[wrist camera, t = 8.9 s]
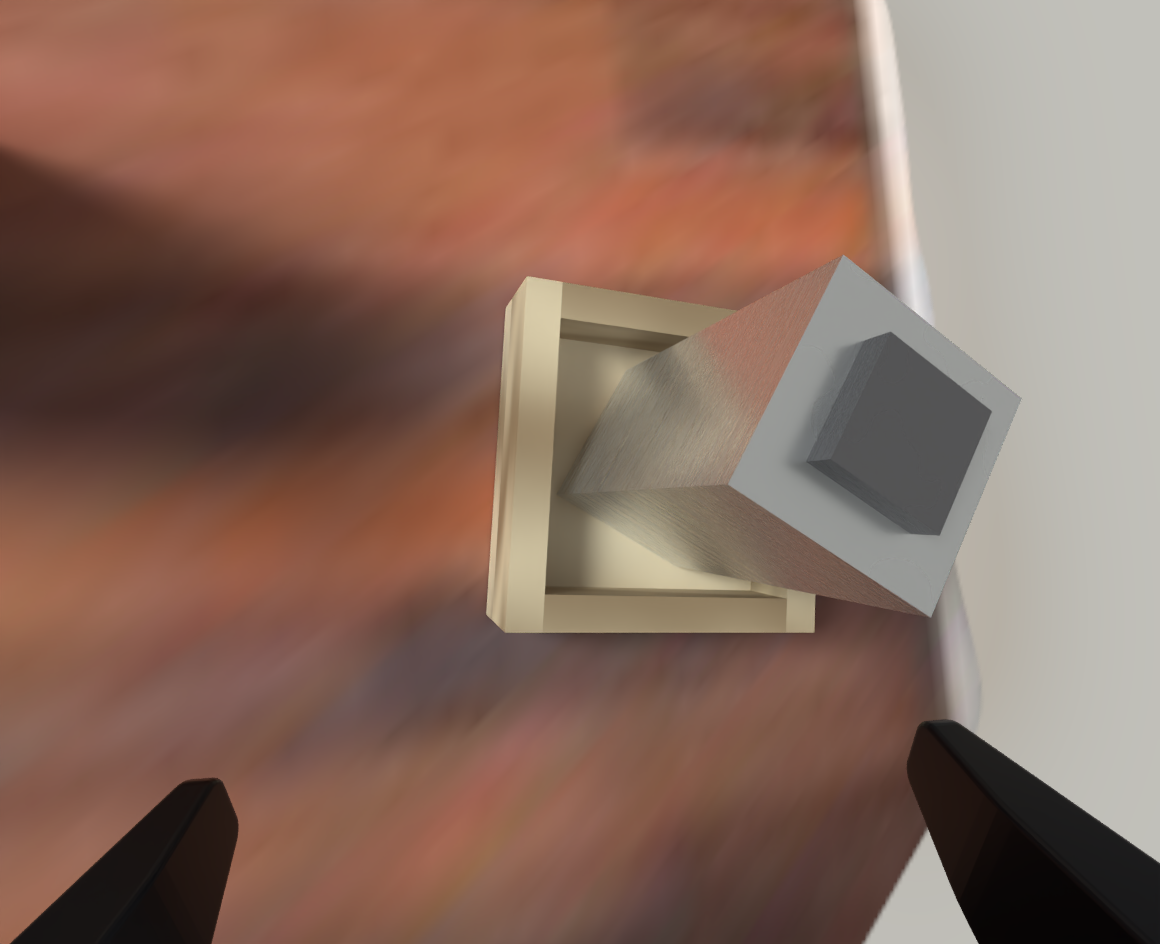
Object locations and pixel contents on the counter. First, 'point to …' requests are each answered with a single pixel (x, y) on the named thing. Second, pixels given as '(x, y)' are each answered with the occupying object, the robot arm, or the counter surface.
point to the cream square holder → (546, 455)
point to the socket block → (803, 446)
